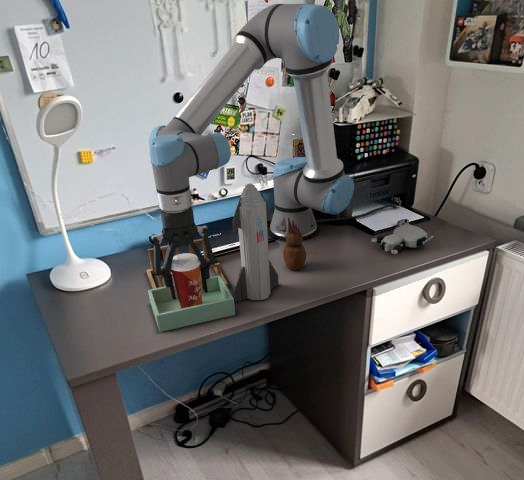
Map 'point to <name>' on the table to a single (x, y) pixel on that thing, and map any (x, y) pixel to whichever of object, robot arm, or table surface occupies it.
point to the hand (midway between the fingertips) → (189, 293)
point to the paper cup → (187, 279)
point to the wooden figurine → (294, 248)
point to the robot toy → (402, 238)
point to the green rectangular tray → (212, 307)
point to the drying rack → (152, 271)
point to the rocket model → (253, 246)
